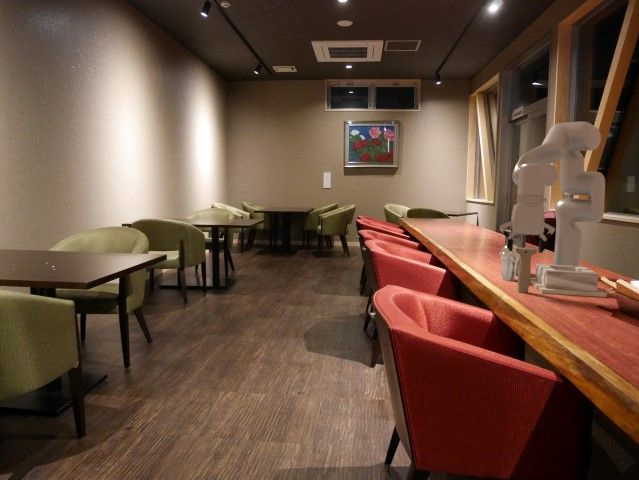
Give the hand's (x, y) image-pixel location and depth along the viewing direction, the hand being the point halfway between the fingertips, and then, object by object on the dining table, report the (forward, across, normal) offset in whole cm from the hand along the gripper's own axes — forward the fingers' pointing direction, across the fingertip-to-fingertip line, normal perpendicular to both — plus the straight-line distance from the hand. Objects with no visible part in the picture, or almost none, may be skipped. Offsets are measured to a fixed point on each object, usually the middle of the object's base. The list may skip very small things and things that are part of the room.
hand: (525, 251), depth 164 cm
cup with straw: (+14, +1, -24) cm, 27 cm away
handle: (+14, 0, -1) cm, 14 cm away
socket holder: (+14, -16, -12) cm, 24 cm away
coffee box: (+14, -4, -40) cm, 42 cm away
